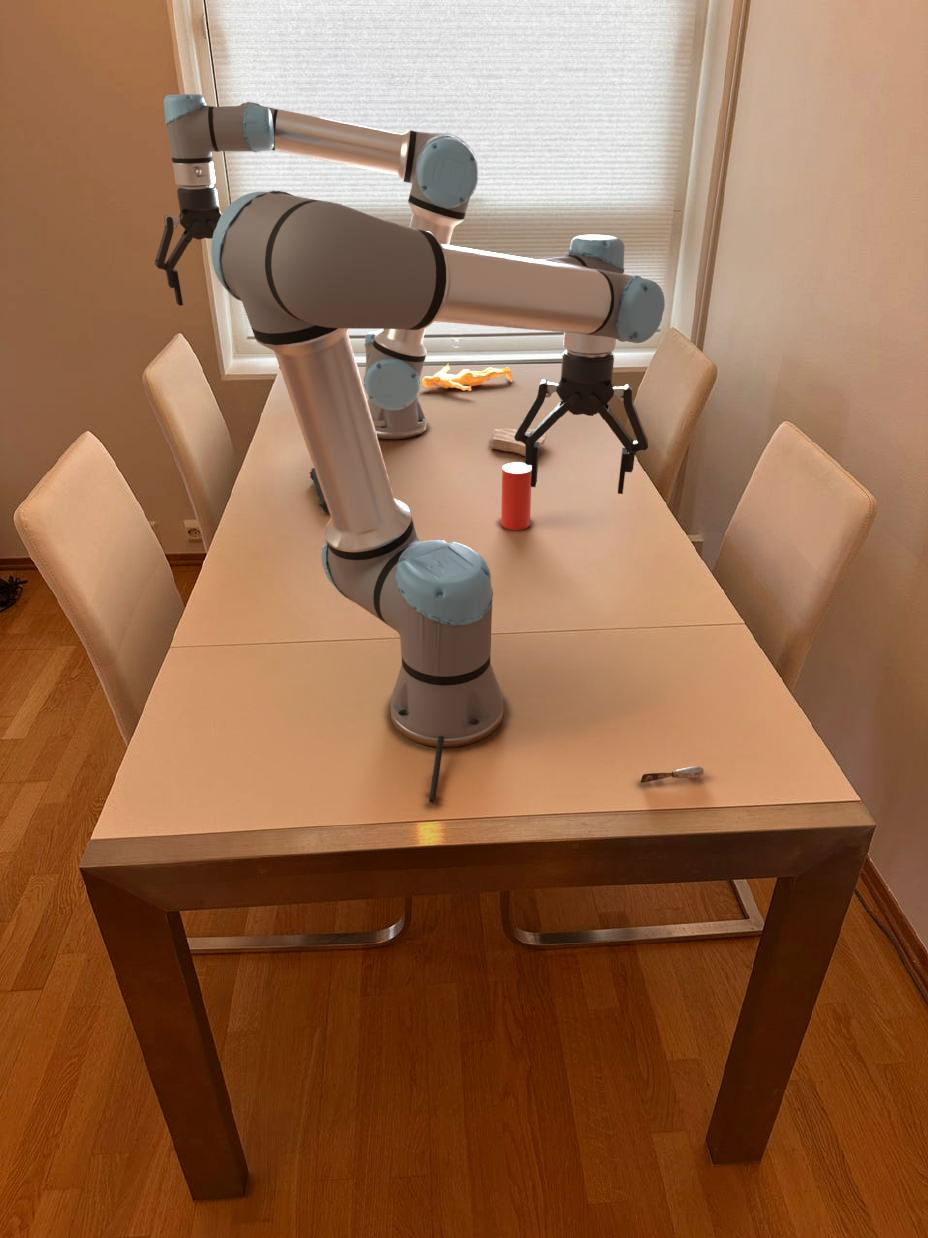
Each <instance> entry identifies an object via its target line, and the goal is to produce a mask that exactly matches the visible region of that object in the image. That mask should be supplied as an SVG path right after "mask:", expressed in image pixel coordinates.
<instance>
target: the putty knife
mask: <svg viewBox="0 0 928 1238" xmlns="http://www.w3.org/2000/svg"><path fill="white" fill-rule="evenodd" d="M704 772H705V771H704V768H702V767H701V766H697V765H695V766H688V767H683V768H679V769H675V770H673V771H671V772H653V773H652V772H651V773H650V772H649V773H644V774H642V776H641V779H640V783H642V784H645V783H648V782H653V781H659V780H665V779H668V778H673V779H674V778H675V779H693V778H694V779H695V778H700V777H702V776H703V775H704Z"/></svg>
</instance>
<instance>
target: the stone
mask: <svg viewBox="0 0 928 1238" xmlns="http://www.w3.org/2000/svg"><path fill="white" fill-rule="evenodd" d="M517 429H518V428H509V427H508V428H506V427H505V428H504V427H502V428H494V429H493V432H492V439H491V440H492V441H491V444H490V448H491V449H496V450H500V451H503V452H511V453H516V454H518V455H521V456H524V457H525V452H526V446H525V444H524V443H523V442H520V441H516V440H515V439H514V437H515V434H516V431H517ZM533 430H534V429H531V428H528V430H527V431H526V433H529V434H530V433H531V432H532V431H533ZM546 439H547V435H546V434H545V433H544V434H543V435H542V436H541V437H540V438H539V439H538V440H537V441H536V442H539V449H540V448H541V447H542V445H544V444H545V441H546Z"/></svg>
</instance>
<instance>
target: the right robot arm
mask: <svg viewBox="0 0 928 1238" xmlns="http://www.w3.org/2000/svg"><path fill="white" fill-rule="evenodd" d="M221 214H222V215H221V217H220V219H219V221H218V223H217V227H216V229H215V230H214V233H213V238H211V246H210V247H211V248H210V251H211V253H210V255H211V263H212V266H213V270H214V272H215V275H216V277H217V279H218V281H219V282H220V284H221V285H222V287H223V288H224V289H225V290H226V291H227V292H228V294H230V296H232V297H233V298H234V299H235V300H238V301H240V302H242V305H243V309H244V312H245V314H246V318H247V320H248V323H249V325H250V328H251V330H252V334H253V336H254V339H255V341H256V343H258V344H259V345H261V346H263V347H265V348H267V349H269V350H271V351H273V352H274V354H275V358H276V360H277V361H276V362H277V363H278V367H279V369H280V373H281V375H282V379H283V381H284V385H285V387H286V391H287V393H288V396H289V399H290V401H291V404H292V407H293V411H294V413H295V416H296V419H297V423H298V425H299V428H300V431H301V434H302V436H303V440H304V442H305V446H306V448H307V452H308V454H309V457H310V460H311V464H312V466H313V468H314V469H315V472H316V475H317V478H318V481H319V484H320V487H321V490H322V492H323V495H324V498H325V501H326V504H327V507H328V510H329V513H328V514H329V516H330V519H329V521H328V522H327V523H326V525H325V527H324V528H325V529H324V540H325V545H324V546H322V548H321V563H322V564H321V565H322V568H323V571H324V574H325V576H326V578H327V580H328V581H329V582H330V584H331V585H332V586H333V587H334V588H335V589H336V591H338V592H339V594H341V595H342V596H343V597H345V598H346V599H348V600H349V601H351V602H353V603H355V604H356V605H358V606H359V607H361V608H362V609H364V610H365V611H366V612H368V613H370V614H371V615H373V616H374V617H375V618H377V619H378V620H380V621H382V622H383V623H384V624H385V625H387V626H389V627H390V628H391V629H393V630H394V631H396V632H397V634H398V635H399V637H400V639H399V640H400V655H401V667H400V669H399V672H398V675H397V678H396V681H395V684H394V687H393V690H392V693H391V696H390V704H389V705H390V718H391V721H392V724H393V725H394V727H395V728H396V729H397V731H398V732H399V733H400V734H402V735H403V736H404V737H406V738H407V739H409V740H411V741H413V742H415V743H417V744H420V745H421V744H422V745H425V746H430V747H436V748H435V749H436V750H435V757H434V763H433V771H432V778H431V784H430V785H431V786H430V792H429V796H428V797H429V798H428V802H429V803H430V804H434V803H435V802H436V798H437V791H438V786H439V778H440V771H441V765H442V764H441V763H442V756H443V749H444V748H454V747H455V748H457V747H463V746H467V745H471V744H473V743H476V742H480V741H481V740H483V739H485V738H486V737H488V736H489V735H491V734H492V733H493V732H494V731H495V730H496V729H498V727H499V726H500V724H501V722H502V720H503V717H504V697H503V693H502V690H501V687H500V685H499V682H498V679H497V677H496V674H495V672H494V668H493V666H492V664H491V654H492V653H491V651H492V649H491V648H492V624H493V623H492V620H493V619H492V618H493V601H494V600H493V599H494V591H493V586H492V577H491V571H490V567H489V565H488V563H487V562H486V560H485V559H484V557H483V556H482V555H480V553H479V552H477V551H476V550H475V549H473V548H471V547H469V546H467V545H465V544H462V543H460V542H457V541H452V542H446V540H445V539H428V540H422V541H421V540H420V539H419V537H418V534H417V531H416V528H415V524H414V520H413V516H412V513H411V510H410V508H409V506H408V505H407V504H406V503H404V502H403V501H401V500H398V499H396V498H395V495H394V492H393V489H392V484H391V481H390V478H389V475H388V471H387V467H386V463H385V460H384V456H383V453H382V449H381V444H380V442H379V438H377V434H376V431H375V427H374V424H373V420H372V417H371V413H370V409H369V406H368V399H367V395H366V391H365V387H364V383H363V381H362V378H361V374H360V370H359V366H358V364H357V360H356V356H355V353H354V349H353V345H352V341H351V338H350V335H349V329H350V330H351V329H354V330H355V329H359V330H360V329H361V330H363V329H365V330H367V329H368V330H369V329H370V330H371V329H372V330H373V329H374V330H375V329H376V330H384V329H407V330H422V329H424V328H426V329H427V328H428V327H430V326H431V325H432V324H433V323H434V322H436V323H448V324H459V325H472V326H484V327H494V328H495V327H496V328H507V329H508V328H509V329H520V330H531V331H542V332H543V331H544V332H556V333H563V343H562V345H563V348H564V349H565V350H564V351H563V352H562V355H561V358H562V359H561V368H560V369H561V370H560V379H559V382H557V383H555V382H550V381H549V380H548V379H546V378H542V379H541V380H540V383H539V386H538V391H537V395H536V397H535V399H533V401H532V403H531V405H530V407H529V409H528V410H527V412H526V413H525V416H524V417H523V419H522V421H521V422H520V424H519V426H518V428H516V429H517V431H516V434H515V437H514V439H515V440H516V441H520V442H523V443H524V444H525V446H526V452H525V456H524V463H526V465H530V466H531V467H532V471H531V488H536V486H537V482H538V472H539V471H538V470H539V455H540V454H539V453H540V448H539V442H536V441H537V440H538V439H539V438H540V437H541V436H542V435H543V434H545V433H546V432H548V431H549V430H550V429H551V428H552V427H553V426H554V425H555V424H556V422H558V421H559V419H561V418H562V417H563V416H564V415H566V413H567V412H568V413H571V414H572V415H573V416H579V415H585V416H588V417H594V416H595V415H598V414H599V416H600V417H601V419H602V420H603V421H605V423H606V424H607V425H608V427H609V428H610V430H611V431H612V432H613V434H614V435H615V436H616V438H617V439H618V441H619V442H620V443H621V445H622V446H623V447H622V449H621V457H620V466H619V475H618V483H617V494H619V495H623V493H624V485H625V476H626V473H632V472H633V471H634V465H635V458H636V457H635V456H636V453H637V452H639V451H647V450H648V448H649V440H648V437H647V435H646V432H645V429H644V427H643V424H642V422H641V419H640V417H639V414H638V411H637V408H636V406H635V403H634V400H633V386H632V385H631V384H630V383H626V384H625V385H624V386H614V385H613V373H614V363H615V355H614V353H613V352H614V351H615V350H616V344H617V343H616V342H617V341H619V342H622V343H624V342H625V343H626V342H628V343H634V344H641V343H644V342H646V341H648V340H649V339H651V338H652V337H653V336H654V335H655V334H656V333H657V331H658V329H659V327H660V325H661V323H662V322H663V315H664V311H665V309H666V308H665V306H666V302H665V301H666V299H665V295H664V292H663V289H662V287H661V286H660V285H659V284H658V283H657V282H656V281H654V280H651V279H648V278H644V277H641V276H639V275H630V274H626V273H625V268H624V267H625V266H624V265H625V244H624V242H623V240H622V239H621V238H619V237H617V236H612V235H606V234H582V235H577V236H575V237H573V238H572V239H571V241H570V245H569V246H570V247H569V250H568V254H566V255H564V256H556V257H547V258H538V259H536V258H535V259H534V258H529V257H522V256H517V255H511V254H505V253H499V252H498V253H497V252H492V251H486V250H480V249H473V248H469V247H461V246H456V245H451V244H449V245H444V244H441V242H440V241H439V240H438V238H437V237H436V236H435V235H434V234H432V233H431V232H428V231H425V230H420V229H414V228H410V226H405V225H402V224H399V223H395V222H393V221H389V220H386V219H382V218H380V217H377V216H375V215H372V214H370V213H367V212H365V211H361V210H359V209H356V208H354V207H350V206H349V205H348V206H347V205H344V204H342V203H339V202H332V201H327V200H320V199H314V198H309V197H303V196H299V195H294V194H291V193H289V192H287V191H283V190H270V191H254V192H249V193H247V194H244V195H242V196H240V197H238V198H236V199H235V200H234V201H233V202H231V203H230V204H229V205H228V206H227V207H226V208H225V210H223V212H222V213H221ZM554 393H556V394H557V396H558V397H559V399H560V402H558V404H557V405H556V406H555V407H554V408H553V409H552V410H551V411H550V412H549V414H547V415H546V416H545V417H544V418H543V419H542V420H541V422H539V423H538V425H537V426H535V427H534V428H533V429H532V430H533V431H532V432H531V433H530V434H529V433H526V431H527V430H528V429H530V427H531V425H532V423H533V421H534V420H535V418H536V416H537V415H538V413H539V411H540V409H541V408H542V406H543V404H544V402H545V400H546V398H550V397H551V396H552V395H553V394H554ZM614 396H615V397H617V399H618V401H619V402H620V403H623V407H624V411H625V413H626V416H627V419H628V421H629V423H630V426H631V428H632V430H633V431H632V432H633V433H634V436H635V438H636V440H634V439H633V438H632V436H631V435H630V434H629V432H628V431H627V429H626V428H625V427H624V426H623V424H622V423H621V421H620V420H619V418H618V417H617V416H616V414H615V413H614V412H613V410H612V408H611V406H610V405H609V404H608V403H609V402H610V401H611V400H612V398H614Z"/></svg>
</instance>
